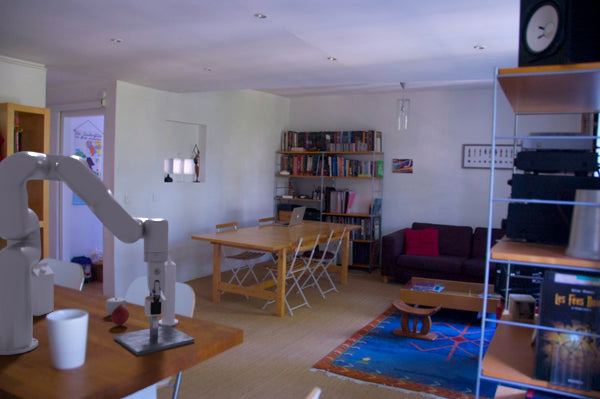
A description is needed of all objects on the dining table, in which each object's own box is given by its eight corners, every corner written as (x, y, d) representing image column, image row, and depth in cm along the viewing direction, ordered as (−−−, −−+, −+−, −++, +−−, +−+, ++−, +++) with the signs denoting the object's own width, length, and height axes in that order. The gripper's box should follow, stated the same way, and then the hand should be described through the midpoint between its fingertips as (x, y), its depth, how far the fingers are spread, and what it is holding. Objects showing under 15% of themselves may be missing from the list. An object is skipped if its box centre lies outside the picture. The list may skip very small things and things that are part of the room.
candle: (182, 322, 174) (183, 255, 172) (169, 327, 167) (170, 257, 166) (167, 319, 177) (168, 253, 175) (153, 324, 170) (155, 255, 169)
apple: (112, 319, 174) (112, 301, 174) (100, 315, 179) (100, 298, 179) (131, 314, 181) (131, 297, 180) (119, 310, 185) (119, 294, 185)
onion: (122, 329, 163) (122, 306, 163) (107, 327, 165) (108, 305, 164) (131, 324, 169) (132, 302, 169) (117, 322, 170) (117, 301, 170)
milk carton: (23, 313, 177) (24, 263, 176) (40, 309, 184) (40, 261, 183) (37, 316, 174) (37, 265, 174) (53, 311, 181) (54, 262, 180)
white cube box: (165, 315, 151) (165, 297, 151) (145, 316, 149) (146, 299, 149) (163, 310, 157) (163, 293, 157) (144, 311, 155) (144, 294, 154)
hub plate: (137, 355, 140) (137, 328, 140) (114, 339, 154) (114, 314, 153) (194, 342, 153) (194, 317, 153) (168, 328, 166) (168, 305, 166)
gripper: (171, 260, 146) (170, 318, 146) (164, 252, 162) (163, 303, 162) (145, 261, 143) (144, 320, 144) (141, 252, 159) (140, 305, 160)
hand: (154, 310), depth 153 cm, fingers closed on white cube box, 6 cm apart
